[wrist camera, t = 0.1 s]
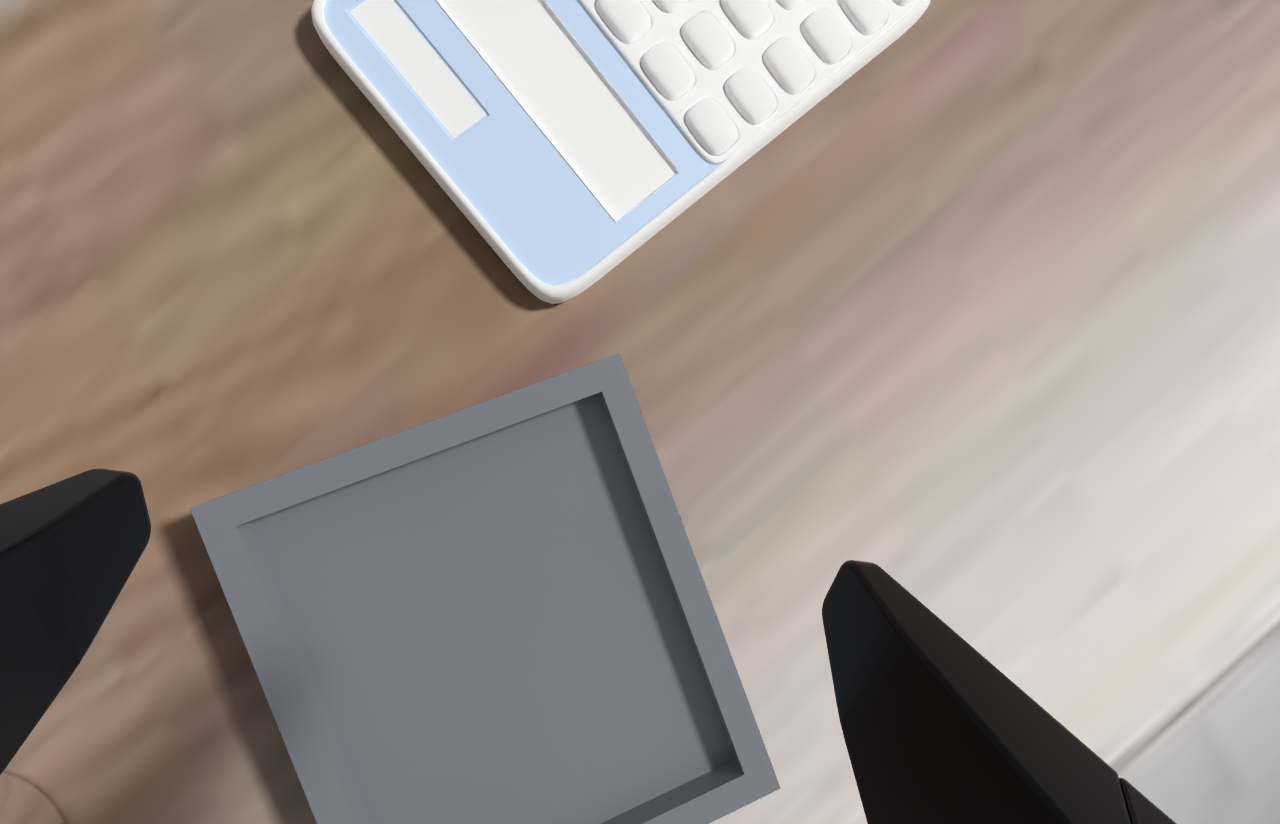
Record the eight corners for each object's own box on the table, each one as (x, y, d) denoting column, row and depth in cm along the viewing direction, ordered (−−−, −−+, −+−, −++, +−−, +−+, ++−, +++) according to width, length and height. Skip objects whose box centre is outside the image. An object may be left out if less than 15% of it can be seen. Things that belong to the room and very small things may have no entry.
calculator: (924, 20, 26) (953, -12, 24) (550, 321, 24) (550, 313, 22) (722, -256, 25) (737, -311, 23) (307, 30, 23) (285, -5, 21)
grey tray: (758, 755, 24) (780, 788, 22) (397, 928, 22) (381, 983, 20) (612, 359, 23) (619, 353, 21) (225, 499, 21) (189, 508, 19)
